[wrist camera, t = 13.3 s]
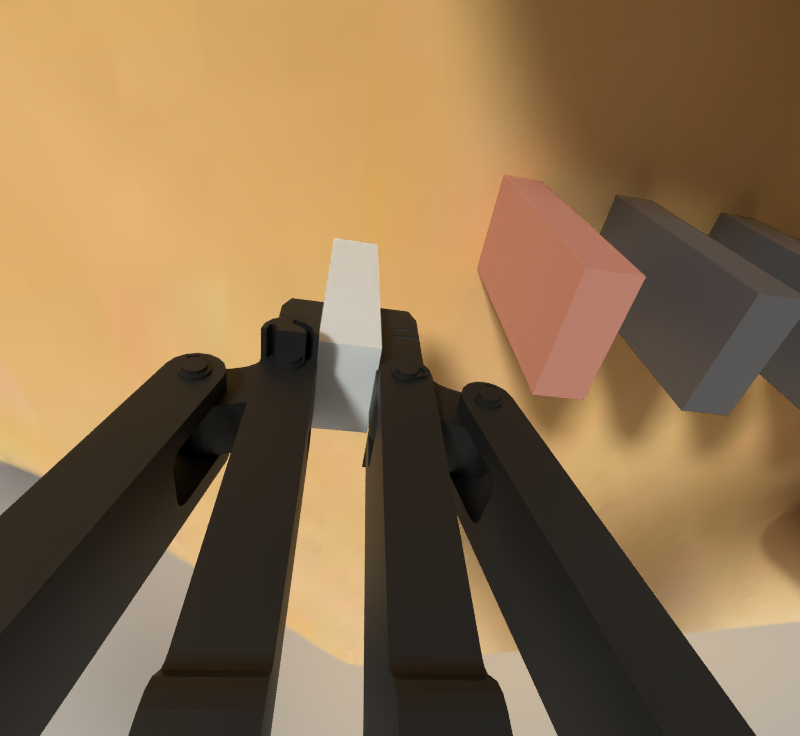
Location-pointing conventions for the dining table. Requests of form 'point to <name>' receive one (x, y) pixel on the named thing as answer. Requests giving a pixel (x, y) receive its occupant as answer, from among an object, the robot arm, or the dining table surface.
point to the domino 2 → (697, 308)
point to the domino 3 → (784, 260)
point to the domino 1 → (554, 287)
